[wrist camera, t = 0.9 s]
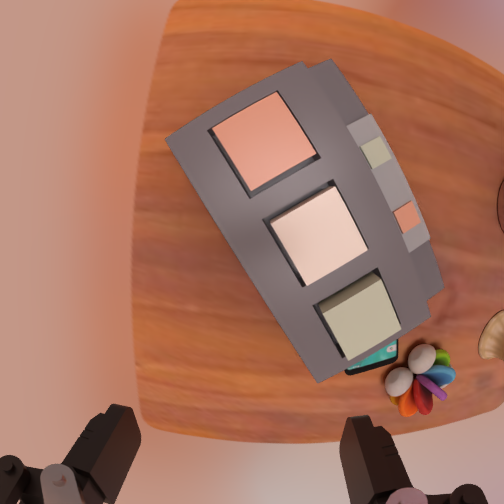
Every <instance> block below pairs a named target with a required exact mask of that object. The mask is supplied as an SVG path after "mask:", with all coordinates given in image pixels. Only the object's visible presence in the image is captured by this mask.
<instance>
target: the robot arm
mask: <svg viewBox="0 0 504 504" xmlns="http://www.w3.org/2000/svg"><path fill="white" fill-rule="evenodd" d="M498 216H499V221H500V225H501V228H502V230H503V232H504V181H503V183H502V185H501V188H500V192H499V197H498ZM140 443H141V433H140V430H139V427H138V424H137V421H136V418H135V415H134V412H133V409H132V408H131V407H127V406H122V405H117V404H111V405H110V407H109V408H108V410H107V411H106V413H105V414H102V413H100V414H98V415H97V416H95V417H94V418H92V419H91V420H90V421H89V423H88V424H87V426H86V427H85V430H83V432H82V433H81V435H80V437H79V438H78V439H77V441H76V442H75V444H74V445H73V447H72V448H71V450H70V451H69V453H68V455H67V456H66V457H65V459H64V461H63V462H62V463H61V464H52V465H49V466H47V467H46V468H45V469H37V468H32V467H27V466H25V465H24V464H23V463H22V461H21V460H20V459H19V458H17V457H15V456H13V455H6V456H3V457H1V458H0V504H17V502H18V500H20V503H19V504H103V502H105V503H108V504H114V503H115V501H116V499H117V496H118V494H119V492H120V489H121V487H122V485H123V482H124V480H125V478H126V476H127V473H128V471H129V469H130V467H131V464H132V462H133V460H134V458H135V456H136V453H137V451H138V449H139V447H140ZM340 458H341V462H342V467H343V471H344V476H345V480H346V484H347V489H348V493H349V498H350V503H351V504H488V502H487V500H486V497H485V495H484V493H483V491H482V490H481V488H479V487H478V486H476V485H473V484H464V485H461V486H459V487H458V488H456V489H455V490H454V491H453V492H452V494H440V495H426V494H424V493H423V492H422V491H420V490H418V489H416V488H414V487H413V486H412V484H411V482H410V479H409V477H408V475H407V472H406V470H405V467H404V465H403V462H402V460H401V458H400V456H399V455H398V451H397V449H396V447H395V444H394V441H393V439H392V437H391V434H390V433H389V432H387V431H386V430H385V429H384V428H383V427H382V426H378V427H374V426H373V424H372V421H371V419H370V417H369V416H368V415H363V416H355V417H348V418H347V421H346V424H345V428H344V431H343V435H342V438H341V441H340Z"/></svg>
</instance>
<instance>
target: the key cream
mask: <svg viewBox="0 0 504 504" xmlns="http://www.w3.org/2000/svg"><path fill="white" fill-rule="evenodd" d="M270 223H271V225H272V227H273V229H274V230H275V232H276V234H277V235H278V237H279V239H280V240H281V242H282V244H283V246H284V247H285V249H286V251H287V252H288V254H289V256H290V258H291V259H292V261H293V263H294V264H295V266H296V268H297V270H298V271H299V273H300V275H301V277H302V278H303V280H304V282H305V284H306V285H307V286H308V285H310V284H311V283H313V282H315V281H317V280H318V279H320V278H322V277H324V276H325V275H327V274H329V273H330V272H332V271H334V270H336V269H337V268H339V267H341V266H342V265H344V264H346V263H347V262H349V261H351V260H352V259H354V258H356V257H357V256H359V255H361V254H362V253H364V252H366V251H367V250H368V249H367V247H366V245H365V243H364V241H363V239H362V237H361V235H360V233H359V231H358V229H357V227H356V225H355V223H354V221H353V219H352V217H351V215H350V213H349V211H348V209H347V207H346V205H345V203H344V202H343V200H342V198H341V196H340V194H339V192H338V190H337V189H336V187H335V186H328V187H327V188H325V189H323V190H321V191H320V192H318V193H316V194H314V195H313V196H311V197H309V198H308V199H306V200H304V201H302V202H301V203H299V204H297V205H295V206H294V207H292V208H290V209H289V210H287V211H285V212H283V213H282V214H280V215H278V216H277V217H275V218H273V219H271V220H270Z"/></svg>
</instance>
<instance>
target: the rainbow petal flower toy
mask: <svg viewBox="0 0 504 504" xmlns="http://www.w3.org/2000/svg"><path fill="white" fill-rule="evenodd" d="M408 366H409V368H405V367H399V368H396V369H394V370H392V371H391V372H390V373H389V374H388V375H387V377H386V380H385V389H386V391H387V393H388V394H389V395H390V400H391V402H392V403H393V404H395V405H398V408H399V412H400V414H401V415H402V416H405V417H409V416H412V415H413V414H415V413H416V412H417V411H418V410H419V412H420V413H421V414H423V415H427V414H429V413H430V412H431V410H432V407H433V399H432V393H433V394H434V395H435V396H437V397H438V398H439V399H440V400H442V401H443V400H445V399H446V398H447V394H446V393H445V392H444V391H443V390H442V389H441V388H444V387H445V386H447V385H448V384H449V383H451V382H452V381H453V380H454V379H455V376H456V373H455V370H454V369H453V368H452V365H451V364H450V356H449V354H448V353H447V351H445V350H443V349H438V350H435V349H434V347H433V346H431V345H429V344H421V345H418V346H416V347H415V348H414V349H413V350H412V351H411V353H410V354H409V357H408ZM413 373H415V374H418V375H417V376H416V378H415V377H413Z"/></svg>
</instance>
